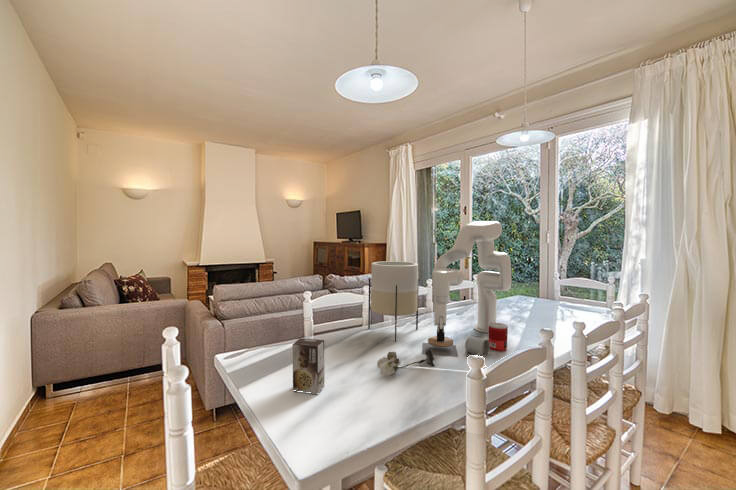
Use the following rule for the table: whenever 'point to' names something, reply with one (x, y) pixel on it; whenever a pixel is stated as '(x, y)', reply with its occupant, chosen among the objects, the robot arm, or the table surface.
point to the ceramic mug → (477, 346)
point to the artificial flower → (392, 362)
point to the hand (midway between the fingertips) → (440, 339)
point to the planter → (394, 289)
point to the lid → (445, 343)
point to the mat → (440, 350)
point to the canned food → (498, 336)
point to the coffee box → (308, 365)
